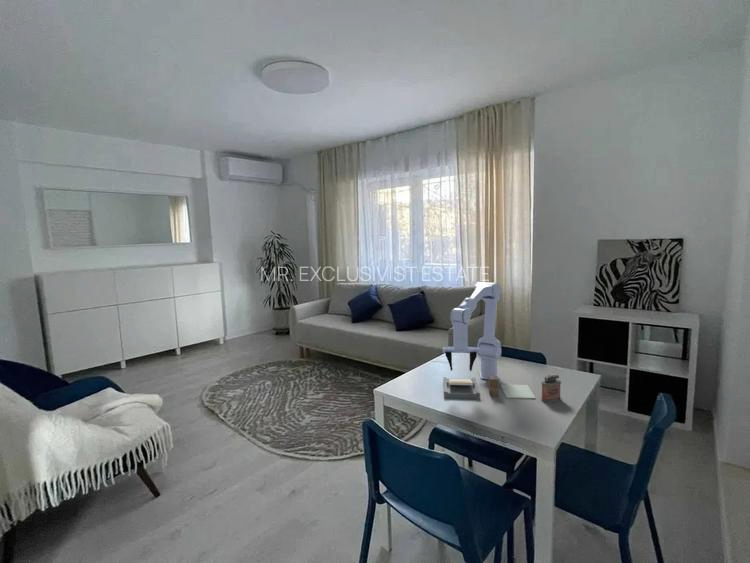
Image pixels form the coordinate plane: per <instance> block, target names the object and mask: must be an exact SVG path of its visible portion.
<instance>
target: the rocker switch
mask: <svg viewBox="0 0 750 563" xmlns="http://www.w3.org/2000/svg"><path fill="white" fill-rule="evenodd" d="M448 379H449V383H450V385H473V383H472V381H471V379H472V378H448Z"/></svg>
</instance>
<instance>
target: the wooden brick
mask: <svg viewBox="0 0 750 563" xmlns="http://www.w3.org/2000/svg"><path fill="white" fill-rule="evenodd" d="M488 394H489V396H490V397H499V379H498V378H497V376H489V379H488Z"/></svg>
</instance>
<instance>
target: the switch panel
mask: <svg viewBox="0 0 750 563" xmlns="http://www.w3.org/2000/svg"><path fill="white" fill-rule="evenodd" d="M449 379H450V378H447V377H445V376H443V378H442V380H443V381H442V383H443V384H442V385H443V396H444V397H443V398H444V399H469V400H470V399H471V400H472V399H473V400H480V399H481V395H480V394H481V392H480V389H479V386H478V381H477V378H476V377H472V378H470V379H471V381H472V383H473V385H450V383H449Z"/></svg>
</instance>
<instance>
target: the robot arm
mask: <svg viewBox="0 0 750 563" xmlns="http://www.w3.org/2000/svg"><path fill="white" fill-rule="evenodd" d="M501 290H502V289H501V286H500V284H499V283H498V282H487V281H485V282H484V281H477V282H476V283H475V284H474V290H473V292H472V294H471V295H470V296H469V297H465V298H464V300H463V301H462V302H461V303H460V304H459V305H458V307H455V308H452V309H451V311H450V313H449V314H450V315H449V319H450V321H451V326H452V328H453V330H452V338H453V339H452V340H453V342H452V343H453V346H443V347H442V354H444V355H445V357H446V359H447V362H448V365H449V368H450V371H453V363H452V362H453V355H452V353H453V354H469V366H468V367H469V371H470V372H472V371H473V366H474V362H475V361H476V359H477V356H478V357H479V358H480V370H479V371H478V373H479V377H480V379H481V380H489V376H497V378H498V380H500V377H499V375H498V359H499V358H501V356H502V344H501V341H500V340H499V339H497V337H496V324H497V305H498V304H497V302H499V301H500V299H501ZM480 300H483V302H484V303H485V304H484V320H483V322H484V324H483V336H482V337H480V338H478V342H477V345H476V347H475V346H474V347H473V346H469V344H468V342H469V339H468V338H469V336H468V331H469V330H468V329H469V328H468V327H469V325H468V323H470V321H471V317H472V316H473V315H472V313H473V312H475V310H476V308H477V306H478V304H477V303H478V302H479V301H480Z"/></svg>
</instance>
